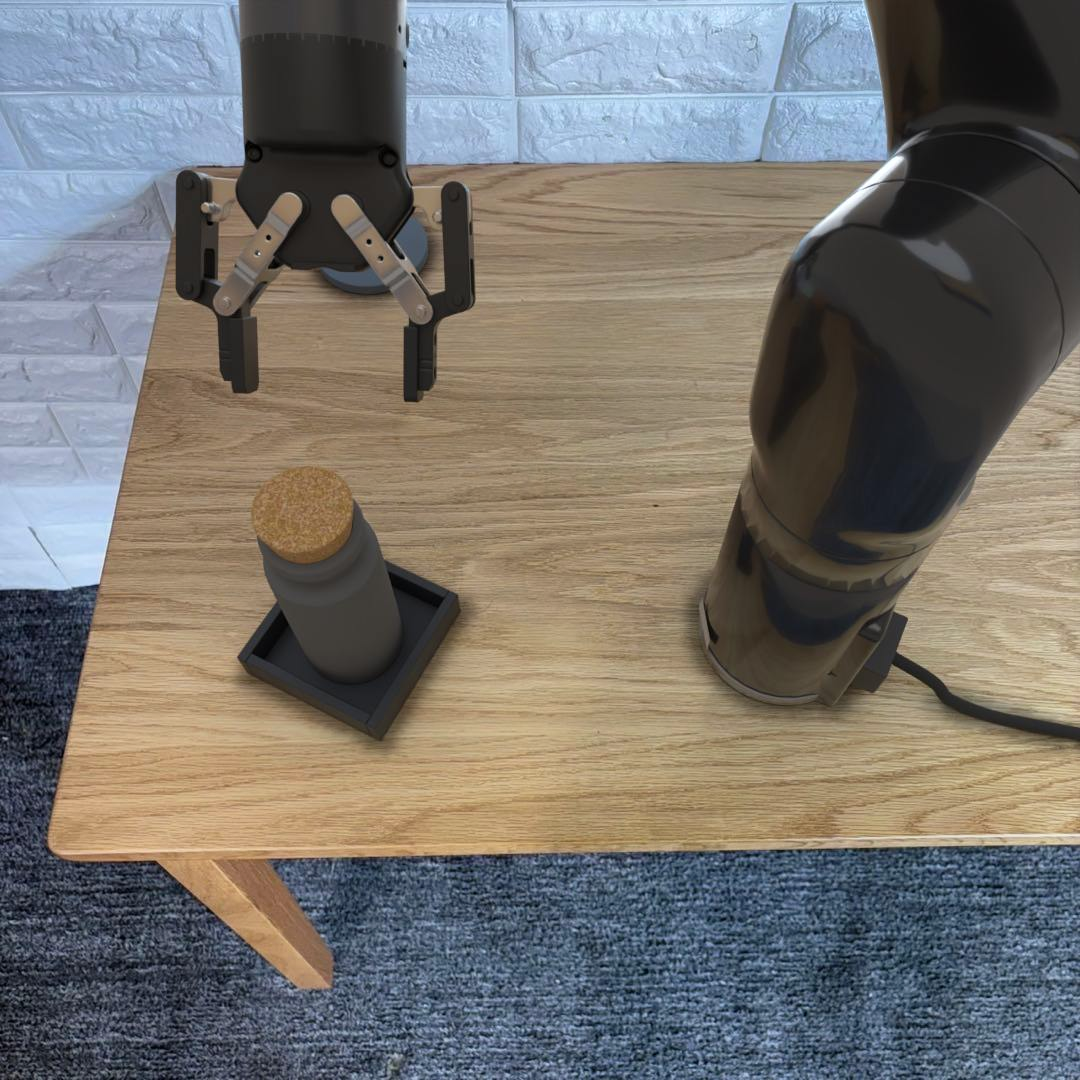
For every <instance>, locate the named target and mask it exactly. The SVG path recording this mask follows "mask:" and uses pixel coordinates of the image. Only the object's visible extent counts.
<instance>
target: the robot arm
mask: <svg viewBox="0 0 1080 1080" xmlns="http://www.w3.org/2000/svg"><path fill="white" fill-rule="evenodd" d="M861 1H862V5H863V9H864V12H865V15H866V20H867V22H868V26H869V32H870V36H871V40H872V46H873V50H874V54H875V59H876V65H877V70H878V76H879V82H880V88H881V94H882V102H883V109H884V118H885V133H886V158H885V163H884V165H882V166H881V167H880V168H879V169H877V170H876V171H875V172H874V173H873V174H872V175H871V176H870V177H869V178H868V179H866V180H865V181H864V182H863V183H862V184H861V185H859V187H857V188H856V189H855V190H854V191H853V192H852V193H851V194H849V195H848V196H847V197H846V198H845V199H843V200H842V201H841V202H840V203H839V204H838V205H837V206H836V207H835V208H834V209H832V211H831V212H829V214H827V215H826V216H824V218H823V219H821V220H820V221H819V222H818V223H816V225H814V226H813V227H812V228H811V229H810V230H809V231H808V233H806V234H805V235H804V236H803V238H802V239H801V240H800V241H799V243H798V244H797V245H796V247H795V248H794V250H793V252H792V253H791V255H790V257H789V258H788V260H787V262H786V264H785V266H784V268H783V270H782V273H781V274H780V276H779V280H778V282H777V285H776V288H775V290H774V293H773V295H772V296H773V297H772V300H771V303H770V306H769V311H768V314H767V315H768V316H767V319H766V323H765V326H764V330H763V336H762V340H761V345H760V349H759V353H758V358H757V362H756V367H755V371H754V376H753V379H752V385H751V390H750V396H749V400H748V421H749V423H748V424H749V428H750V433H751V438H752V441H753V445H752V447H751V450H750V451H751V452H750V453H749V458H748V460H747V464H746V467H745V470H744V473H743V476H742V480H741V483H740V486H739V489H738V492H737V495H736V498H735V502H734V504H733V508H732V510H731V514H730V518H729V520H728V524H727V527H726V530H725V532H724V536H723V540H722V542H721V546H720V549H719V551H718V555H717V558H716V562H715V565H714V568H713V570H712V574H711V576H710V577H711V578H710V581H709V583H708V586H707V588H706V589H705V593H704V595H703V596H702V598H701V599H700V602H699V605H698V609H699V611H698V617H697V632H698V638H699V643H700V646H701V648H702V649H701V650H702V651H703V653H704V655H705V657H706V660H707V661H708V663H709V665H710V666H711V667H712V669H713V670H714V671H715V673H716V674H717V675H718V676H719V677H720V678H721V679H722V680H723V681H724V682H725V683H726V684H728V685H729V686H730V687H732V688H733V689H734V690H736V691H737V692H739V693H741V694H743V695H745V696H746V697H749V698H751V699H753V700H755V701H759V702H761V703H766V704H771V705H778V706H797V705H804V704H807V703H810V702H814V701H815V702H818V703H821V704H824V705H826V706H829V707H835V705H836V704H838V702H839V700H840V698H841V697H842V696H843V694H844V693H845V692H846V690H847V689H848V688H849V686H850V685H852V686H854V687H856V688H858V689H861V690H863V691H865V692H867V693H869V694H873V695H874V694H875V693H876V691H878V690H879V688H880V687H881V685H882V684H883V683H884V682H885V681H886V679H887V678H888V676H889V673H890V670H891V668H892V666H893V667H896V668H897V669H899V670H901V671H903V672H904V673H906V674H908V675H909V676H911V677H913V678H915V679H917V680H918V681H919V682H921V683H922V684H924V685H925V686H927V687H928V688H929V689H931V690H932V691H933V692H934V694H935V695H936V697H937V699H938V700H939V701H940V702H941V704H943V705H945V706H947V707H949V708H951V709H953V710H955V711H957V712H959V713H962V714H964V715H966V716H969V717H972V718H975V719H978V720H980V721H981V720H982V721H985V722H989V723H991V724H995V725H999V726H1003V727H1006V728H1007V727H1008V728H1012V729H1015V730H1022V731H1026V732H1033V733H1037V734H1042V735H1047V736H1053V737H1058V738H1064V739H1067V740H1073V741H1079V742H1080V726H1074V725H1069V724H1065V723H1058V722H1053V721H1047V720H1042V719H1037V718H1032V717H1026V716H1020V715H1017V714H1011V713H1008V712H1003V711H998V710H995V709H991V708H988V707H984V706H982V705H979V704H976V703H974V702H971V701H968V700H966V699H963V698H962V697H960V696H957V695H955V694H953V693H952V692H950V690H949V688H948V687H947V685H946V684H945V683H944V681H942V679H940V678H939V677H938V676H937V675H935V674H934V673H933V672H931V671H930V670H928V669H927V668H925V667H923V666H921V665H920V664H918V663H917V662H915V661H913V660H911V659H910V658H908V657H906V656H904V655H903V654H901V653H899V652H898V648H899V645H900V643H901V640H902V638H903V635H904V632H905V629H906V626H907V624H908V621H909V617H908V616H906V615H903V614H901V613H898V612H897V611H895V608H896V605H897V603H898V600H899V598H900V597H901V595H902V594H903V592H904V591H905V590H906V588H907V587H908V585H909V584H910V582H911V580H912V579H913V578H914V576H915V575H916V573H917V572H918V570H919V569H920V568H921V566H922V565H923V563H924V562H925V560H926V559H927V558H928V556H929V555H930V553H931V551H932V550H933V548H934V547H935V546H936V544H937V543H938V541H939V540H940V539H941V537H942V536H943V534H944V533H945V531H946V530H947V529H948V528H949V527H950V525H951V524H952V522H953V521H954V520H955V518H956V517H957V515H958V514H959V512H960V511H961V510H962V508H963V507H964V506H965V504H966V503H967V501H968V499H969V497H970V495H971V493H972V491H973V489H974V486H975V483H976V479H977V475H978V472H979V471H980V469H981V467H982V466H983V465H984V463H985V462H986V460H987V459H988V457H989V456H990V454H991V453H992V452H993V450H994V448H995V447H996V446H997V444H998V443H999V442H1000V440H1001V439H1002V437H1003V436H1004V434H1005V433H1006V431H1007V430H1008V429H1009V427H1010V426H1011V425H1012V424H1013V422H1014V420H1015V419H1016V418H1017V416H1018V415H1019V414H1020V412H1021V411H1022V410H1023V408H1025V406H1026V405H1027V404H1028V402H1029V401H1030V400H1031V399H1032V398H1033V396H1034V395H1035V394H1036V393H1037V392H1038V390H1039V389H1040V388H1041V387H1042V386H1043V385H1045V383H1046V382H1047V381H1048V380H1049V379H1050V377H1051V376H1052V375H1053V374H1054V373H1055V372H1056V371H1057V370H1058V368H1059V367H1060V366H1061V365H1062V364H1063V363H1064V362H1065V360H1066V359H1067V358H1068V357H1069V356H1070V355H1071V354H1072V352H1073V351H1074V350H1075V349H1076V348H1077V347H1078V346H1079V345H1080V0H861ZM238 23H239V29H238V30H239V53H240V54H239V55H240V56H239V57H240V81H241V107H242V108H241V109H242V110H241V111H242V112H241V113H242V134H243V135H242V137H243V151H244V159H243V166H242V169H241V171H240V174H239V175H238V177H237V178H229V177H222V176H221V177H220V176H213V175H211V174H208V173H203V172H200V171H194V170H192V169H184V170H182V171H180V172H179V173H178V174H177V175H176V178H175V291H176V294H177V295H178V296H179V297H180V298H181V299H182V300H184V301H192V302H193V303H196V304H199V305H202V306H204V307H206V308H208V309H209V310H211V311H212V313H213V314H214V316H215V318H216V322H217V341H218V344H217V345H218V358H219V360H218V362H219V364H218V365H219V372H220V375H221V377H222V380H223V381H224V382H230V384H231V391H232V393H233V394H237V395H238V394H239V395H240V394H241V395H249V394H252V393H255V392H257V391H258V390H259V386H260V371H259V370H260V369H259V368H260V367H259V365H260V364H259V341H258V340H259V339H258V338H259V337H258V316H256V315H255V316H254V315H252V314H251V313H252V312H251V311H252V309H253V308H254V307H255V305H256V304H257V302H258V301H259V299H260V298H261V297H262V295H263V294H264V292H265V291H266V290H267V288H268V287H269V286H270V285H271V283H273V282H274V281H275V280H276V279H277V278H278V277H279V275H280V274H281V273H282V272H283V270H284V269H285V267H288V268H290V270H291V271H293V270H294V271H320V269H324V268H329V269H333V270H336V271H339V272H364V271H366V270H368V269H370V268H372V269H373V270H374V271H375V273H376V274H377V276H378V277H379V278H380V280H381V281H382V282H383V284H384V285H385V286H386V287H387V288H388V289H389V290H390V291H389V292H390V293H391V294H392V295H393V297H394V298H395V299H396V301H397V303H398V304H399V305H400V307H401V308H402V310H403V311H404V312H405V314H406V315H407V317H408V324H407V325H404V326H403V356H402V357H403V363H402V364H403V367H402V368H403V369H402V373H403V377H402V378H403V379H402V384H403V385H402V386H403V388H402V391H403V393H402V394H403V395H402V397H403V402H404V403H417V404H418V403H420V402H421V401H422V400H423V399H424V395H425V392H430V390H432V389H433V388H434V386H435V384H436V381H437V379H438V328H439V325H440V323H441V322H442V321H443V320H444V319H445V318H448V317H451V316H455V315H458V314H462V313H465V312H467V311H469V310H471V309H472V308H473V307H474V306H475V304H476V300H477V293H476V268H475V267H476V266H475V265H476V264H475V240H474V239H475V238H474V214H473V212H474V211H473V195H472V192H471V190H470V189H469V188H468V187H467V186H466V185H465V184H464V183H462V182H459V181H455V180H451V181H448V182H446V183H445V184H442V185H414V184H413V182H412V181H411V178H410V175H409V172H408V171H409V170H408V166H407V102H408V101H407V99H408V98H407V92H408V91H407V90H408V89H407V88H408V87H407V86H408V85H407V83H408V81H407V80H408V77H407V74H408V71H407V70H408V48H409V45H410V24H409V22H408V0H238ZM235 203H238V206H240V208H241V209H242V211H243V212H244V214H245V215H246V216H247V218H248V220H249V221H250V222H251V224H252V225H253V227H254V228H255V230H256V231H255V233H254V234H253V236H252V237H251V239H249V241H248V243H247V245H245V247H244V248H243V250H242V251H241V253H240V254H239V256H238V257H237V259H236V260H235V262H234V267H233V269H232V270H231V272H230V273H229V275H228V276H227V277H226V279H225V280H224V282H223V281H220V280H219V233H220V230H219V229H220V225H219V224H220V223H223V222H225V221H226V220H228V218H229V216H230V213H231V209H232V206H233V205H234V204H235ZM417 208H419V209H421V210H422V211H423V212H424V213H425V216H426V220H427V223H428V225H429V227H430V228H431V229H432V230H434V231H437V232H440V233H441V232H442V253H443V255H442V256H443V276H444V277H443V278H444V290H442V291H439V292H437V293H434V294H432V292H431V291H430V290H429V288H428V286H427V285H426V284H425V283H424V281H423V279H422V278H421V276H420V275H419V273H417V271H416V269H415V267H414V266H413V264H412V263H411V262H410V260H409V259H408V257H407V256H406V255H405V253H404V252H403V250H402V249H401V247H400V246H399V245H398V243H397V242H396V240H395V238H396V237H397V235H398V234H399V233H400V231H401V230H402V228H403V227H404V226H405V224H406V223H407V221H408V220H409V219H410V217H411V216H413V215H414V213H415V210H416V209H417Z"/></svg>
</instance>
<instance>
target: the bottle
mask: <svg viewBox="0 0 1080 1080" xmlns="http://www.w3.org/2000/svg"><path fill="white" fill-rule="evenodd" d="M250 519H251V524H252V527H253V529H254V532H255V534H256V541H257V545H258V548H259V551H260V553H261V555H262V567H263V573H264V575H265V578H266V581H267V584H268V585H269V588H270V590H271V592H272V593H273V596H274V597H275V599H276V602H277V601H278V603H279V605H280V607H281V609H282V611H283V613H284V615H285V617H286V619H287V621H288V623H289V625H290V627H291V628H292V630H293V632H294V634H295V636H296V638H297V640H298V642H299V643H300V645H301V647H302V649H303V651H304V653H305V655H306V657H307V658H308V660H309V661H310V663H311V665H312V666H313V667H314V669H315V670H316V671H317V672H319V673H320V674H321V675H322V676H324V677H325V678H327V679H329V680H331V681H334V682H337V683H341V684H359V683H364V682H367V681H370V680H372V679H374V678H376V677H378V676H380V675H381V674H382V673H384V672H385V671H386V670H387V669H388V668H390V667H391V665H392V664H393V663H394V661H395V660H396V659H397V657H398V655H399V653H400V650H401V647H402V643H403V627H402V622H401V618H400V614H399V611H398V607H397V603H396V600H395V596H394V593H393V589H392V586H391V582H390V579H389V575H388V572H387V569H386V565H385V562H384V560H385V559H384V556H383V552H382V548H381V545H380V542H379V540H378V537H377V535H376V532H375V531H374V529H373V527H372V526H371V524H370V522H368V521H367V520H366V519H365V517H364V515H363V512H362V509H361V507H360V505H359V503H358V502H357V501H356V499H355V498H354V497H353V493H352V491H351V488H350V487H349V485H348V483H347V482H346V481H345V480H344V479H343V478H342V477H341V476H340V474H339V475H338V474H337V473H336V472H335V471H332V470H331V469H328V468H325V467H323V466H318V465H299V466H295V467H294V466H293V467H291V468H287V469H284V470H282V471H280V472H279V473H276V474H275V475H273V476H272V477H270V478H269V479H268V480H267V481H266V482H264V484H263V485H262V486H261V487H260V488H259V489H258V491H257V492H256V495H255V496H254V498H253V501H252V504H251V509H250Z"/></svg>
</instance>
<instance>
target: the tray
mask: <svg viewBox="0 0 1080 1080" xmlns="http://www.w3.org/2000/svg"><path fill="white" fill-rule="evenodd" d="M384 562H385V565H386V569H387V572H388V575H389V579H390V582H391V586H392V589H393V593H394V596H395V600H396V603H397V607H398V611H399V614H400V618H401V622H402V627H403V643H402V647H401V650H400V653H399V655H398V657H397V659H396V660H395V661H394V663H393V664H392V665H391V667H390V668H388V669H387V670H386V671H385V672H384V673H382V674H381V675H380V676H378V677H376V678H374V679H372V680H370V681H367V682H364V683H359V684H341V683H337V682H334V681H331V680H329V679H327V678H325V677H324V676H322V675H321V674H320V673H319V672H317V671H316V670H315V669H314V667H313V666H312V665H311V663H310V661H309V660H308V658H307V657H306V655H305V653H304V651H303V649H302V647H301V645H300V643H299V642H298V640H297V638H296V636H295V634H294V632H293V630H292V628H291V627H290V625H289V623H288V621H287V619H286V617H285V615H284V613H283V611H282V609H281V607H280V605H279V603H278V601H277V600H276V602H275V603H274V604H273V606H272V607H271V608H270V610H269V611H268V613H267V614H266V615H265V616H264V618H263V620H262V621H261V622H260V624H259V625H258V626H257V628H256V629H255V631H254V632H253V634H252V635H251V637H250V638H249V639H248V641H246V644H245V645H243V648H242V649H241V650H240V652H239V653H238V654H237V656H236V659H237V660H238V662H240V664H241V666H242V668H243V669H244V670H245V672H246V674H249V675H251V676H253V677H254V678H257V679H258V680H260V681H262V682H264V683H266V684H268V685H270V686H272V687H274V688H276V690H279V691H281V692H283V693H284V694H287V695H288V696H291V697H293V698H295V699H297V700H299V701H300V702H303V703H304V704H307V705H308V706H310V707H312V708H314V709H316V710H318V711H320V712H322V713H324V714H326V715H327V716H330V717H331V718H333V719H336V720H337V721H338V722H339V721H340V722H341V723H343V724H345V725H347V726H348V727H351V728H353V729H354V730H356V731H358V732H360V733H362V734H364V735H366V736H368V737H370V738H372V739H374V740H376V741H378V742H380V743H382V741H383V739H384V738H385V737H386V735H387V733H388V731H389V730H390V728H391V726H392V725H393V724H394V722H395V720H396V718H397V717H398V715H399V713H400V711H401V710H402V708H403V707H404V705H405V703H406V702H407V700H408V698H409V697H410V696H411V693H413V690H414V689H415V687H416V685H417V684H418V682H419V681H420V680H421V677H422V676H423V675H424V672H425V671H426V669H427V667H428V666H429V664H430V663H431V661H432V660H433V658H434V656H435V655H436V653H437V651H438V649H439V648H440V646H441V645H442V643H443V641H444V640H445V638H446V636H447V635H448V633H449V632H450V630H451V628H452V627H453V625H454V623H455V622H456V620H457V618H458V617H459V615H460V614H461V612H462V609H461V604H460V598H459V594H458V593H456V592H454V591H452V590H449V589H447V588H445V587H444V586H441V585H440V584H437V583H435V582H433V581H431V580H428V579H426V578H424V577H423V576H420V575H418V574H416V573H414V572H412V571H410V570H408V569H405V568H403V567H401V566H399V565H397V564H395V563H393V562H390V561H389V560H386V559H384Z"/></svg>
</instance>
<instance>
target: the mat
mask: <svg viewBox="0 0 1080 1080" xmlns="http://www.w3.org/2000/svg"><path fill="white" fill-rule="evenodd" d="M395 240H396V242H397V243H398V245H399V246H400V247H401V249H402V250H403V252H404V253H405V255H406V256H407V257H408V259H409V260H410V262H411V263H412V264H413V266H414V267H415V269H416V271H417V273H418V274H420V273H421V272H422V269H424V267H425V264H426V262H427V260H428V256H429V243H428V235H427V233H426V230H425V228H424V227H423V225H422V224H421V222H420V221H419V220H418V219H417V218H416V217H414V216H413V215H412V216H411V217H410V219H409V220H408V221H407V223H406V224H405V226H404V227H403V228H402V230H401V231H400V233H399V234H398V235H397V237H396V238H395ZM319 272H320V274H321V275H322V276H323V278H324V279H325V280H326V281H328V282H329V283H330V284H331V285H333V286H334V287H336V288H338V289H341V290H343V291H346V292H349V293H354V294H360V295H373V294H375V295H377V294H381V293H382V294H383V293H387V292H391V291H390V290H389V289H388V288H387V287H386V286H385V285H384V284H383V282H382V281H381V280H380V278H379V277H378V276H377V274H376V273H375V271H374V270H373V269H372V268H370V269H368V270H366V271H364V272H339V271H336V270H333V269H329V268H324V269H320V270H319Z"/></svg>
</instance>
